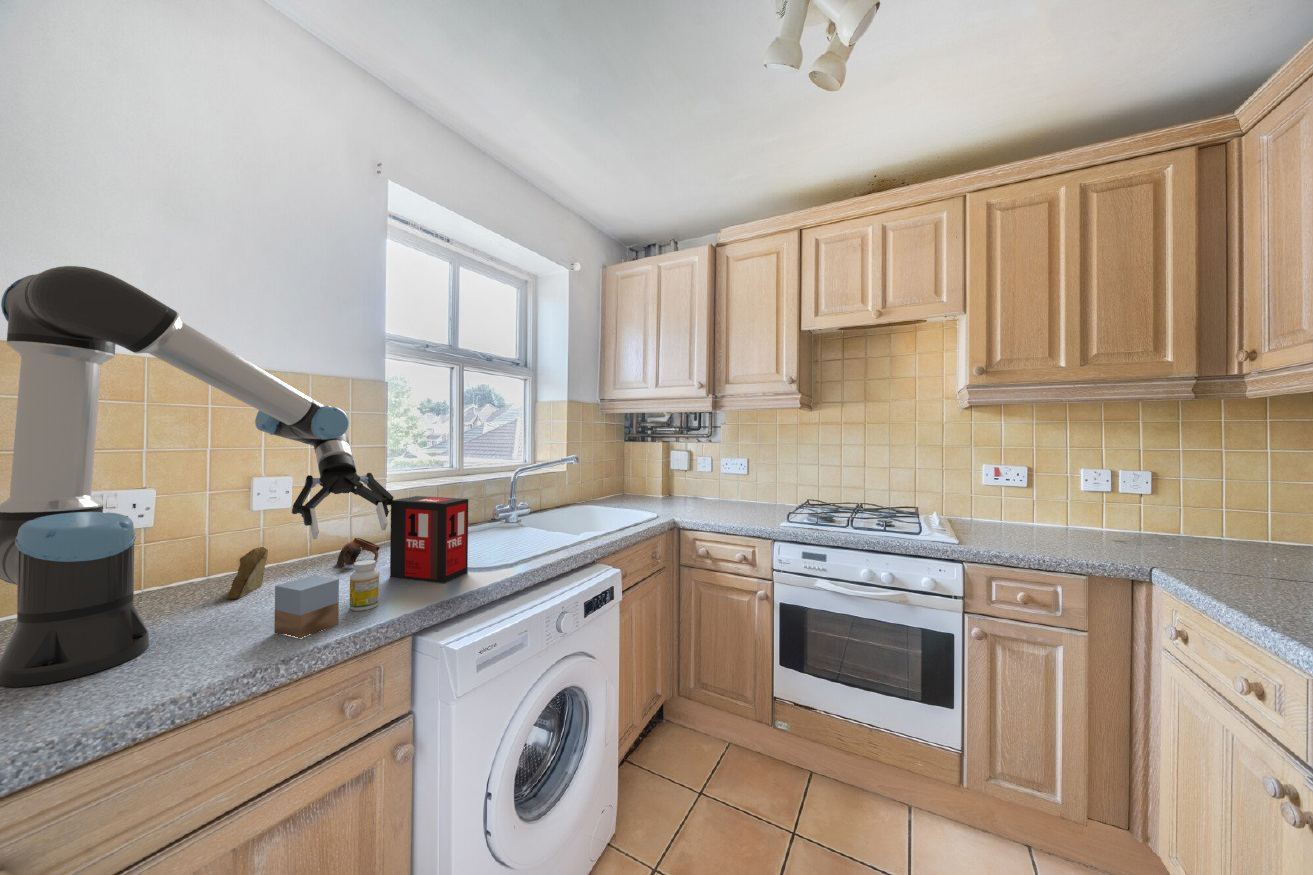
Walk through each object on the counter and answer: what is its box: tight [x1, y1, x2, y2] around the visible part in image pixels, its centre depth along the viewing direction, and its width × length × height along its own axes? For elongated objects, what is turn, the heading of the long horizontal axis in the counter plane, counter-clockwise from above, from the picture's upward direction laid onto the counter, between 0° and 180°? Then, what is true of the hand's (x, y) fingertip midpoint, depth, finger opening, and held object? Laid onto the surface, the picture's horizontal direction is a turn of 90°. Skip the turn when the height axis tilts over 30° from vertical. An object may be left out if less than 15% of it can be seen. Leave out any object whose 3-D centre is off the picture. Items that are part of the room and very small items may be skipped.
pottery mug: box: [336, 537, 381, 568], centre depth 130 cm, size 12×10×8 cm
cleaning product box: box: [389, 495, 469, 584], centre depth 121 cm, size 16×9×20 cm, turn 76°
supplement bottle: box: [349, 559, 380, 612], centre depth 98 cm, size 5×5×10 cm
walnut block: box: [273, 602, 340, 638], centre depth 87 cm, size 7×7×4 cm
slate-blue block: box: [274, 574, 340, 615], centre depth 87 cm, size 7×7×4 cm
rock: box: [226, 546, 269, 600], centre depth 106 cm, size 11×9×10 cm
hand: (351, 531), depth 106 cm, fingers open, 13 cm apart
